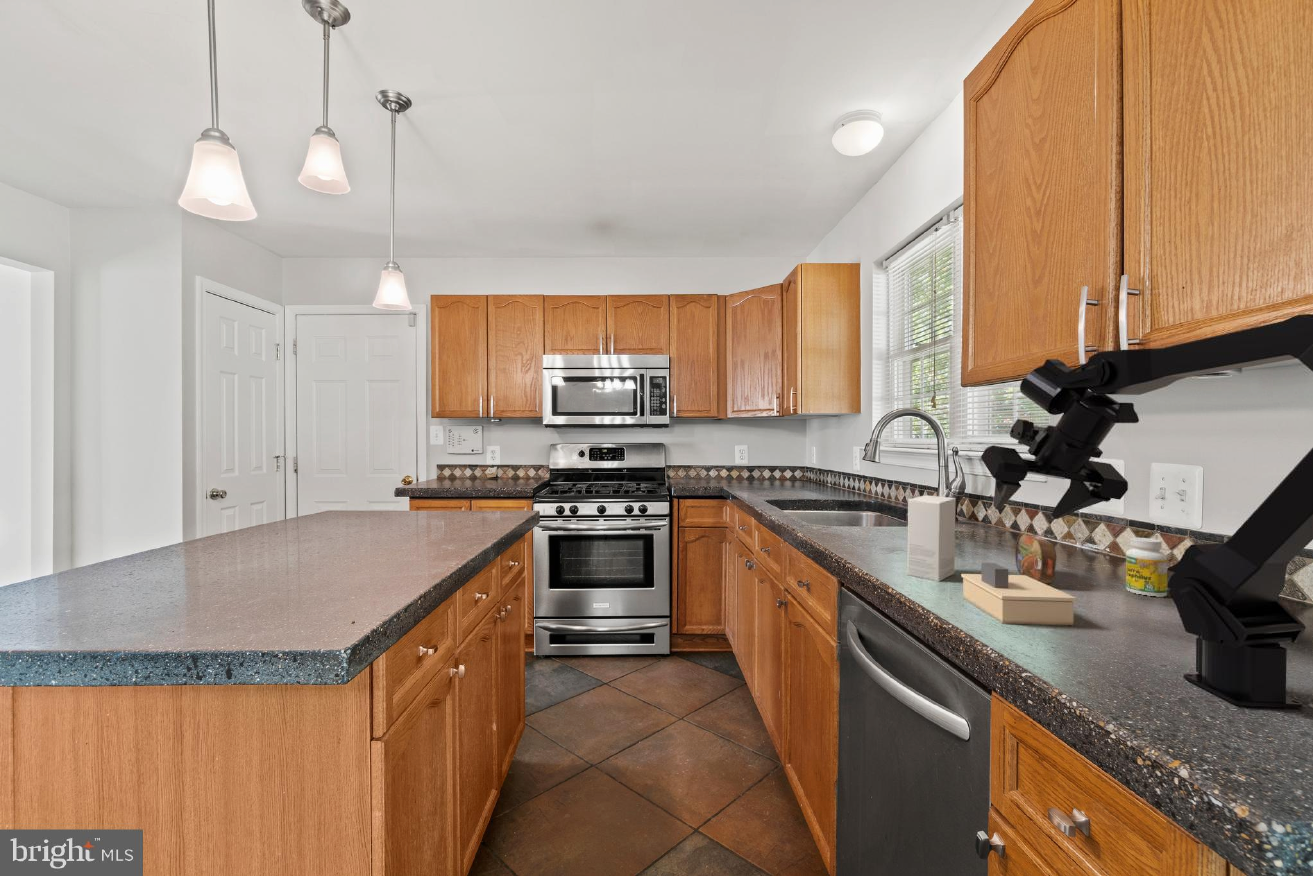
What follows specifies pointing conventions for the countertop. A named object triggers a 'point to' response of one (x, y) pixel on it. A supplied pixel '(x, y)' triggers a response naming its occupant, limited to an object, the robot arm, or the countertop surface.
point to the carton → (1019, 608)
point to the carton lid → (1014, 585)
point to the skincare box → (931, 537)
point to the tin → (1035, 558)
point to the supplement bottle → (1146, 568)
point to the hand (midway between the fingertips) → (1024, 512)
